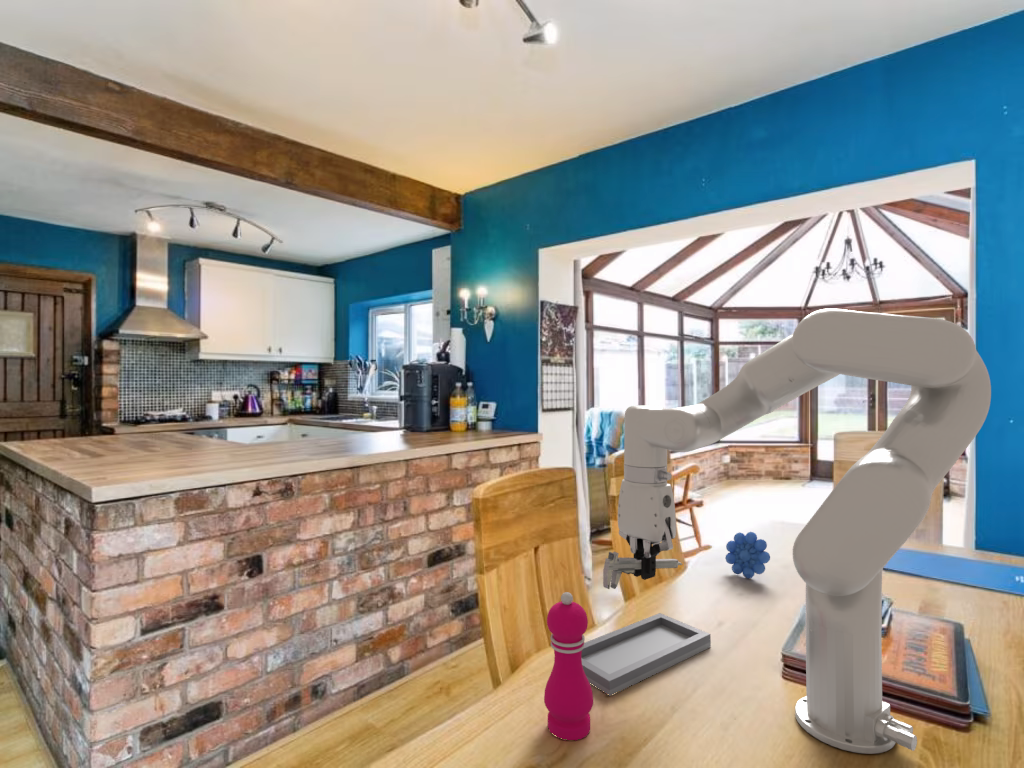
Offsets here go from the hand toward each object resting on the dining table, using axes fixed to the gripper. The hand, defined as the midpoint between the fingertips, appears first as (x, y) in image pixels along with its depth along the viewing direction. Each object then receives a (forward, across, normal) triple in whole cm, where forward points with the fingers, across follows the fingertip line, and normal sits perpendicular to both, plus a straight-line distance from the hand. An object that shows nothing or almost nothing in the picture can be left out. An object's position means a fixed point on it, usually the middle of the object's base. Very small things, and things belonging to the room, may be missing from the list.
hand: (644, 575), depth 100 cm
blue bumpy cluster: (+16, +11, -54) cm, 57 cm away
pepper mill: (+16, -6, +23) cm, 29 cm away
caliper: (+1, 0, 0) cm, 1 cm away
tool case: (+16, +2, -1) cm, 16 cm away
